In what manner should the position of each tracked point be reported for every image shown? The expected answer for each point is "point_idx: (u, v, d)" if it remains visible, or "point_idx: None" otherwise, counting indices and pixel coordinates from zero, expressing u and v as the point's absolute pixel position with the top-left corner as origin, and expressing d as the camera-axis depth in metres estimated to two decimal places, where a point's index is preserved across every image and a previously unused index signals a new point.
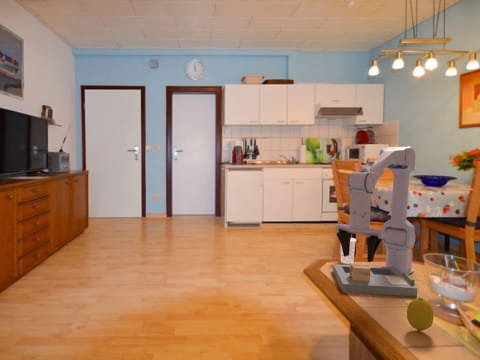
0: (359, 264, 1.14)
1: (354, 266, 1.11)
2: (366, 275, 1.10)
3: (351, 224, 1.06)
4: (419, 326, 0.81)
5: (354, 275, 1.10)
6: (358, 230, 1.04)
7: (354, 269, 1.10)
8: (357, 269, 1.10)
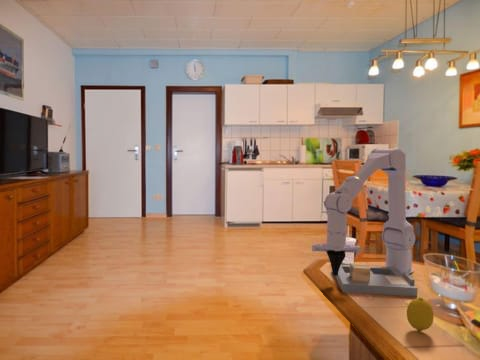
0: (359, 264, 1.14)
1: (354, 266, 1.11)
2: (366, 275, 1.10)
3: (333, 243, 1.10)
4: (419, 326, 0.81)
5: (354, 275, 1.10)
6: (341, 248, 1.10)
7: (354, 269, 1.10)
8: (357, 269, 1.10)
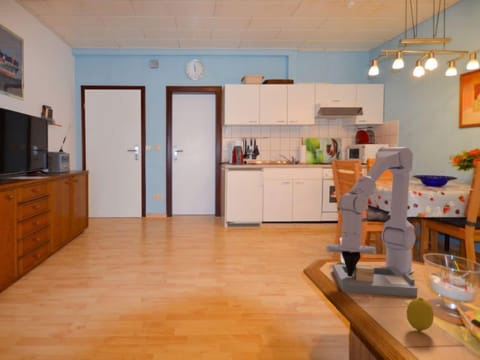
0: (362, 264, 1.13)
1: (357, 266, 1.11)
2: (370, 275, 1.10)
3: (348, 244, 1.10)
4: (419, 326, 0.81)
5: (358, 275, 1.10)
6: (356, 249, 1.09)
7: (358, 269, 1.10)
8: (360, 269, 1.10)
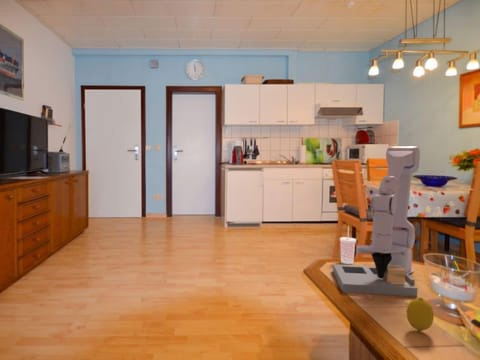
0: (393, 266, 1.13)
1: (388, 268, 1.10)
2: (401, 277, 1.09)
3: (380, 246, 1.09)
4: (419, 326, 0.81)
5: (389, 277, 1.09)
6: None
7: (389, 271, 1.09)
8: (392, 270, 1.09)
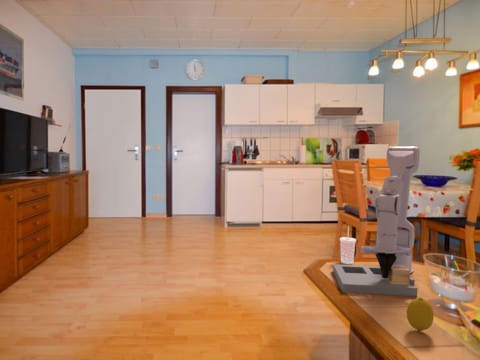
0: (397, 266, 1.12)
1: (393, 268, 1.10)
2: (406, 277, 1.09)
3: (384, 246, 1.09)
4: (419, 326, 0.81)
5: (393, 277, 1.09)
6: (393, 251, 1.08)
7: (393, 271, 1.09)
8: (396, 270, 1.09)
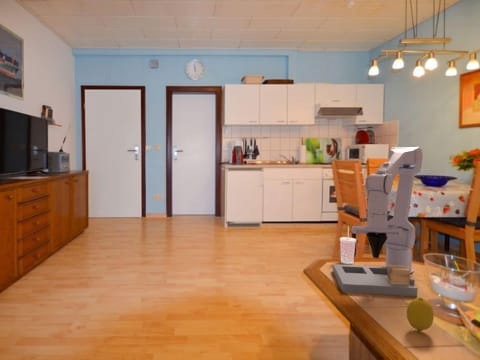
0: (397, 266, 1.12)
1: (393, 268, 1.10)
2: (406, 277, 1.09)
3: (375, 225, 1.09)
4: (419, 326, 0.81)
5: (393, 277, 1.09)
6: None
7: (393, 271, 1.09)
8: (396, 271, 1.09)
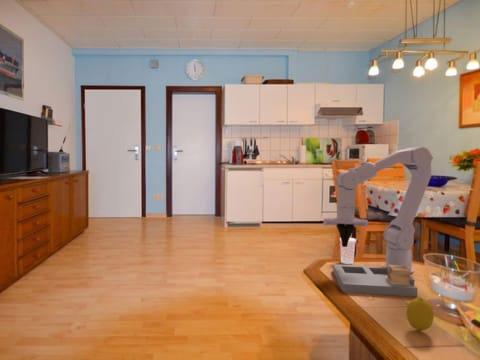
0: (397, 266, 1.12)
1: (393, 268, 1.10)
2: (406, 277, 1.09)
3: (343, 217, 1.22)
4: (419, 326, 0.81)
5: (393, 277, 1.09)
6: (350, 222, 1.21)
7: (393, 271, 1.09)
8: (396, 271, 1.09)
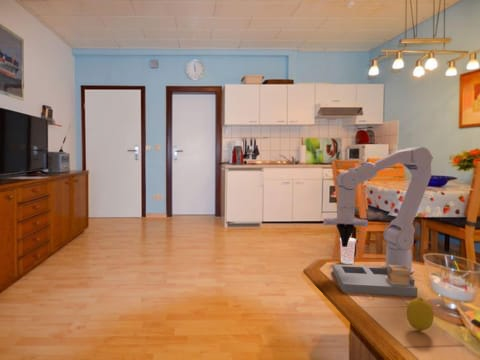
0: (397, 266, 1.12)
1: (393, 268, 1.10)
2: (406, 277, 1.09)
3: (343, 217, 1.22)
4: (419, 326, 0.81)
5: (393, 277, 1.09)
6: (350, 222, 1.21)
7: (393, 271, 1.09)
8: (396, 271, 1.09)
